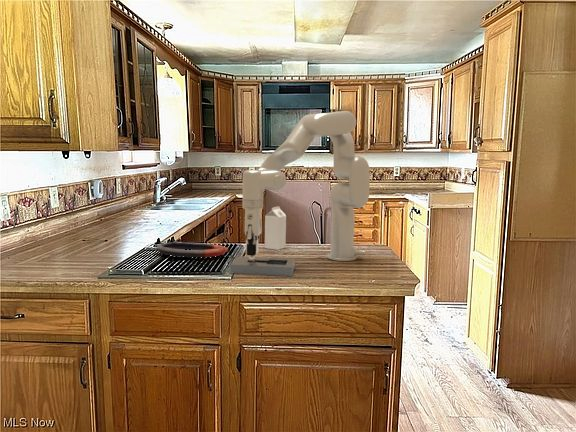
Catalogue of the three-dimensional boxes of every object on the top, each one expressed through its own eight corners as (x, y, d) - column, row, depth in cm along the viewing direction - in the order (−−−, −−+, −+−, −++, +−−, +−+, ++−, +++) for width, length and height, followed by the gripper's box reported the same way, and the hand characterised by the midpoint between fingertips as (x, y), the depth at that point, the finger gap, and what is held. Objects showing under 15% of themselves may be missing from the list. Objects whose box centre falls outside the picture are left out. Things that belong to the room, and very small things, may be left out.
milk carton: (264, 248, 196) (265, 207, 194) (272, 245, 203) (272, 205, 200) (278, 250, 193) (278, 208, 190) (285, 247, 199) (286, 206, 197)
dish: (167, 250, 190) (167, 238, 190) (233, 255, 183) (233, 243, 183) (148, 257, 175) (148, 245, 175) (219, 263, 168) (219, 251, 168)
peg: (259, 267, 162) (259, 238, 160) (257, 270, 157) (257, 240, 156) (246, 266, 162) (247, 237, 161) (244, 269, 158) (244, 240, 156)
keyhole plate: (294, 267, 165) (295, 258, 164) (291, 276, 152) (291, 267, 151) (238, 264, 167) (238, 256, 166) (230, 273, 154) (230, 264, 154)
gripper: (259, 207, 148) (258, 259, 150) (266, 202, 164) (265, 249, 167) (237, 206, 148) (237, 258, 151) (247, 201, 165) (246, 248, 167)
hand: (252, 253), depth 159 cm, fingers closed on peg, 4 cm apart
